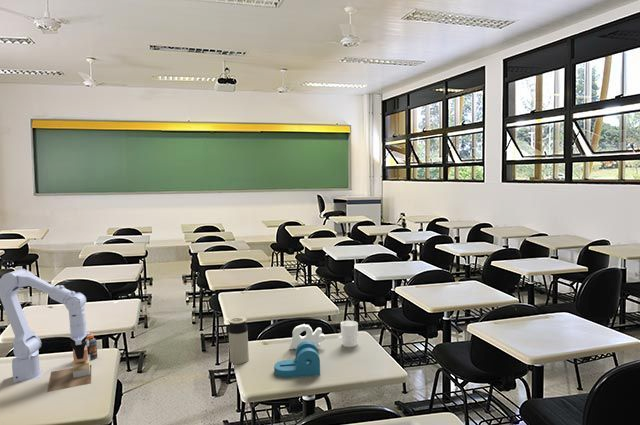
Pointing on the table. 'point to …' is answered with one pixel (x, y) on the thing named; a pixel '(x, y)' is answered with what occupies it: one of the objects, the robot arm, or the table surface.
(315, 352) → the camera mount
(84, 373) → the slab bottom
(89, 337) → the pill bottle
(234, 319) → the travel mug
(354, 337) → the white cup
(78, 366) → the slab top
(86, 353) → the block
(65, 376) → the board
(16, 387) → the table surface
